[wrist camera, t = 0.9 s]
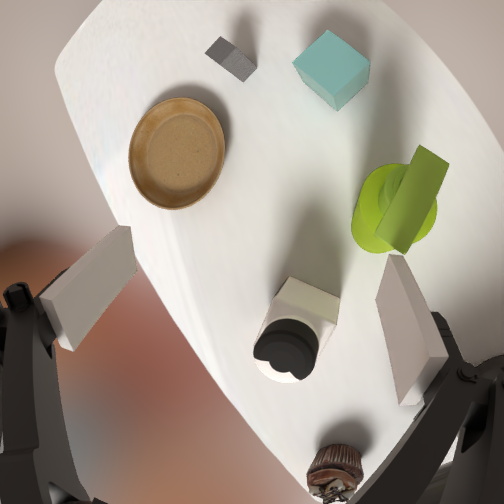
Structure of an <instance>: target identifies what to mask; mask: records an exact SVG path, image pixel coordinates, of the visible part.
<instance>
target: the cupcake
mask: <svg viewBox="0 0 504 504" xmlns="http://www.w3.org/2000/svg"><path fill="white" fill-rule="evenodd" d="M306 475H307V476H306V477H307V485H308V487H309V494H310V495H313V496H317V497H320V498H322V499H323V504H329V503H332V502H335V501H340V502H344V501H346V502H348V501H349V499H351V498H352V496H353V495H354V494H355V493H354V492H355V491H356V489H357V486H358V485H359V484H360V482H361V481H362V480H363V477H364V476H363V475H364V473H363V469H362V465H361V456H360V453H359V452H357V451H356V450H355V449H354V448H353V447H350V446H348V445H342V444H337V445H329V446H327V447H324V448H322V449H320V451H319V452H318V453H317V455H316V457H315V459H314V461H313V462H312V464H311V466H310V468H309V469H308V472H307V474H306ZM335 499H340V500H335Z"/></svg>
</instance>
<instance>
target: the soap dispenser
mask: <svg viewBox="0 0 504 504" xmlns="http://www.w3.org/2000/svg"><path fill="white" fill-rule="evenodd" d="M448 167H449V163H448V162H446V161H445V160H443V159H442V158H440V157H439V156H437V155H435V154H434V153H432V152H431V151H429V150H428V149H426V148H424V147H423V146H421V145H419V146H418V148H417V149H416V152H415V154H414V156H413V158H412V160H411V162H410V164H409V165H404V164H387V165H384V166H381V167H379V168H377V169H376V170H374V171H373V172H372V173H371V174H370V175H369V176H368V177H367V179H366V180H365V182H364V184H363V186H362V189H361V192H360V196H359V199H358V202H357V205H356V209H355V212H354V215H353V218H352V223H351V230H352V235H353V237H354V239H355V241H356V243H357V244H358V245H359V246H360V247H361V248H362V249H364V250H365V251H368V252H370V253H377V254H378V253H384V252H387V251H391V250H394V249H396V250H397V251H399V252H400V253H402V254H404V255H405V254H406V253H407V251H408V250H409V248H410V246H411V245H412V244H413V243H415V242H417V241H419V240H421V239H422V238H423V237H425V236H426V235H427V234H428V232H429V231H430V230H431V228H432V227H433V224H434V222H435V219H436V215H437V200H436V196H437V194H438V192H439V189H440V187H441V185H442V182H443V180H444V177H445V175H446V172H447V170H448Z"/></svg>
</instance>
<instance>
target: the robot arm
mask: <svg viewBox="0 0 504 504" xmlns="http://www.w3.org/2000/svg"><path fill="white" fill-rule="evenodd" d="M136 272H137V266H136V260H135V254H134V248H133V241H132V234H131V227H130V226H120V225H119V226H117V227H116V228H115V229H114V230H112V231H111V232H110V233H109V234H108V235H106V236H105V237H104V238H103V239H102V240H101V241H99V242H98V243H97V244H96V245H95V246H94V247H93V248H91V249H90V250H89V251H88V252H87V253H86V254H84V255H83V256H82V257H81V258H80V259H79V260H78V261H77V262H75V263H74V264H73V265H72V266H71V267H69V268H68V269H65V270H64V271H62V272H61V273H60V274H59V275H57V276H56V277H55V279H53V280H52V281H51V282H50V284H48V285H47V286H46V287H45V288H44V289H43V290H42V291H41V292H40V293H39V294H38V295H37V296H36V297H34V298H33V297H32V294H31V292H30V289H29V286H28V284H27V283H25V282H18V283H15V284H12V285H11V286H9V287H8V288H7V289H6V290H5V291H4V293H3V296H4V298H5V301H6V303H7V305H8V308H3V306H2V304H1V301H0V444H1V437H2V431H3V444H4V451H3V453H1V454H0V500H1V504H108V503H105V502H103V501H101V500H99V499H97V498H94V499H93V502H91V501H90V498H89V496H88V494H87V492H86V490H85V489H84V487H83V486H82V485H81V483H80V481H79V479H78V476H77V473H76V469H75V466H74V462H73V458H72V454H71V450H70V446H69V441H68V437H67V432H66V428H65V422H64V416H63V411H62V405H61V398H60V391H59V383H58V375H57V365H56V354H55V347H54V344H53V341H54V340H55V338H56V337H57V339H58V341H59V343H60V345H61V347H63V348H65V349H68V350H71V351H73V352H74V350H75V349H76V348H77V346H78V345H79V344H80V342H81V341H82V340H83V338H84V337H85V336H86V334H87V333H88V332H89V330H90V329H91V328H92V326H93V325H94V324H95V323H96V321H97V320H98V319H99V317H100V316H101V315H102V314H103V312H104V311H105V310H106V308H107V307H108V306H109V305H110V303H111V302H112V301H113V300H114V298H115V297H116V296H117V295H118V294H119V292H120V291H121V290H122V289H123V287H124V286H125V285H126V284H127V282H128V281H129V280H130V279H131V278H132V277H133V275H134V274H135V273H136ZM375 301H376V304H377V308H378V312H379V316H380V319H381V323H382V327H383V332H384V336H385V340H386V344H387V349H388V353H389V357H390V362H391V367H392V372H393V377H394V382H395V387H396V392H397V398H398V404H399V406H404V405H417V403H418V402H419V401H420V399H421V398H422V396H423V398H424V402H425V405H424V406H423V407H422V409H421V410H420V411H419V412H418V414H417V415H416V416H415V417H414V421H413V422H412V424H411V425H410V427H409V428H408V429H407V431H406V432H405V434H404V435H403V436H402V438H401V439H400V441H399V442H398V443H397V445H396V446H395V447H394V449H393V450H392V451H391V452H390V454H389V455H388V456H387V458H386V459H385V460H384V461H383V462H382V464H381V465H380V466H379V467H378V469H377V470H376V471H375V472H374V473H373V474H372V476H371V477H370V478H369V479H368V480H367V481H366V482H365V484H364V485H363V486H362V487H361V488H360V489H359V490H358V491H357V492H356V493H355V494H354V495H353V496H352V498H351V499H350V500H349V501H348V502H347V503H346V504H504V355H502V356H498V357H495V358H492V359H490V360H488V361H486V362H484V363H482V364H481V365H479V366H478V367H476V368H475V367H474V366H473V365H471V364H470V363H467V362H465V361H463V358H462V356H461V354H460V351H459V349H458V346H457V344H456V342H455V339H454V338H453V335H452V333H451V331H450V328H449V326H448V324H447V322H446V320H445V319H444V318H443V317H442V316H441V315H440V313H439V312H430V310H429V308H428V306H427V303H426V301H425V299H424V297H423V295H422V293H421V291H420V288H419V286H418V284H417V282H416V280H415V278H414V276H413V274H412V272H411V270H410V268H409V266H408V264H407V262H406V261H405V259H404V257H403V256H401V255H393V254H389V256H388V259H387V263H386V267H385V270H384V274H383V277H382V280H381V284H380V287H379V290H378V293H377V296H376V299H375ZM456 436H458V442H457V446H456V450H455V454H454V458H453V461H451V462H449V463H446V464H443V465H441V463H442V462H443V460H444V458H445V456H446V455H447V453H448V451H449V449H450V447H451V445H452V443H453V442H454V440H455V438H456ZM440 465H441V466H440Z"/></svg>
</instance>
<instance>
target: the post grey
mask: <svg viewBox="0 0 504 504" xmlns="http://www.w3.org/2000/svg"><path fill="white" fill-rule="evenodd" d="M205 54H206V55H207V56H209V57H210V58H211V59H213V60H214V61H215V62H217V63H218V64H219V65H221V66H222V67H224V68H225V69H226V70H228V71H229V72H230V73H232V74H233V75H234V76H236V77H237V78H238V79H239V80H241V81H242V82H244V81H245V80H246V79H247V78H248V77H249V76H250V75H251V74H252V73H253V72H254V71H255V70H256V69H257V67H256V66H255V65H254V64H253V63H252V62H251V61H250V60H249V59H248V58H247V57H246V56H245V55H244V54H243V53H242V52H241V51H240V50H239V49H238V48H237V47H235V46H234V45H232V44H231V43H230V42H228V41H227V40H225V39H224V38H222V37H221V36H220V37H219V38H218V39H217V40H216V41H215V42H214V44H213V45H212V46H211V47H210V48H209V49H208V50H207V51H206V52H205Z"/></svg>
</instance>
